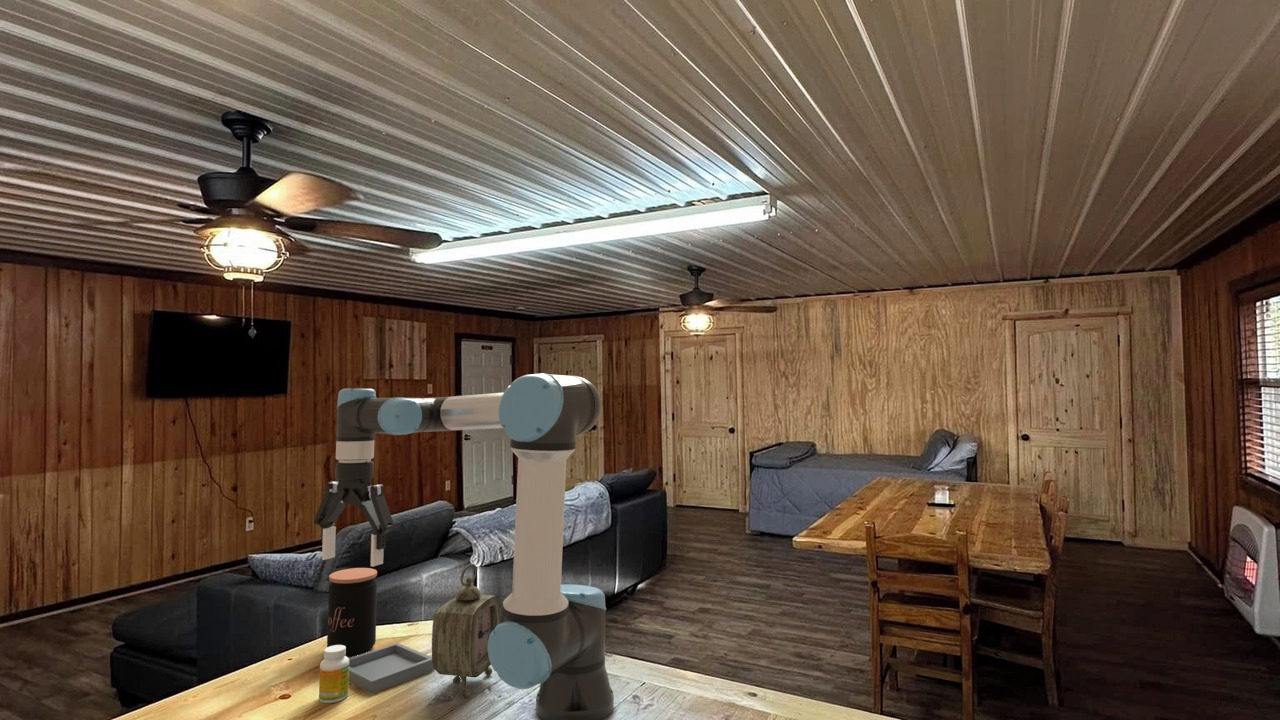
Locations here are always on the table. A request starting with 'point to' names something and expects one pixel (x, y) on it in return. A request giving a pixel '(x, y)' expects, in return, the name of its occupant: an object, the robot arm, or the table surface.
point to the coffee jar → (352, 610)
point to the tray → (387, 667)
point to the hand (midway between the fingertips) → (352, 561)
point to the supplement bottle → (334, 675)
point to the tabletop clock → (464, 633)
